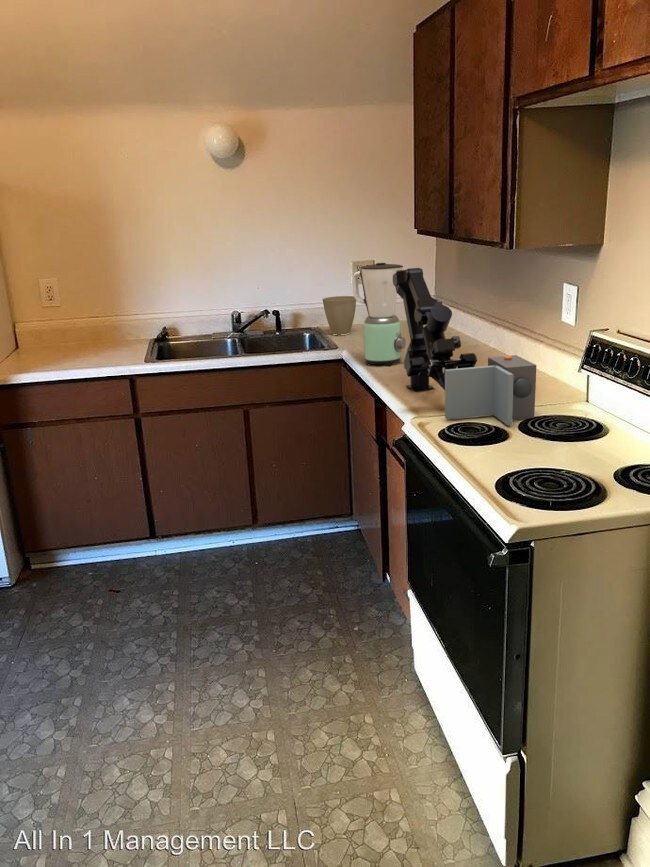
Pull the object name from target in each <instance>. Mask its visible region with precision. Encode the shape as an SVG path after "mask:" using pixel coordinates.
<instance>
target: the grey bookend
mask: <svg viewBox="0 0 650 867" xmlns="http://www.w3.org/2000/svg"><path fill="white" fill-rule="evenodd" d="M513 377H514V375H513V374H512V373H510V372H508V371H506V370H505V369H503V368H501V367H499V366H498V365H493V366H488V365H484V366H483V365H482V366H474V367H470V368H459V369H458V368H456V369H447V370H445V391H444V418H445V419H446V420H454V419H455V420H456V419H464V418H465V419H466V418H475V417H486V416H495V417H496V418H497V419H498V420H499V421H501V422H502V423H504V424H505V425H506V426H512V425H513V420H512V411H513Z"/></svg>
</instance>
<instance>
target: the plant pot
mask: <svg viewBox="0 0 650 867" xmlns="http://www.w3.org/2000/svg"><path fill="white" fill-rule="evenodd" d="M322 303H323V309H324V313H325V318H326V320H327V324H328V326H329V329H330V331H331V334H332V335H333V334H337V335H341V334H347V333H350V334H351V330H352V327H353V323H354V319H355V315H356V313H355V312H356V308H357V301H356V299H355V298H354V295H352V296H351V295H338V296H337V295H336V296H330V297H329V296H328V297H323V298H322Z"/></svg>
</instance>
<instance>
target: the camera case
mask: <svg viewBox="0 0 650 867" xmlns="http://www.w3.org/2000/svg"><path fill="white" fill-rule="evenodd" d="M493 365H498V366H499V367H501V368H503V369H505V370H506V371H508V372H510V373H512V374H513V375H514V377H513V411H512V421H515V420H525V419H534V418H535V415H536V414H535V412H536V411H535V410H536V408H535V407H536V388H537V387H536V384H537V364H535V363H533V362H531V361H529V360H527V359H525V358H522V357H520V356H519V355H517V354H514V355H501V356H491V357H489V356H488V358H487V366H493Z"/></svg>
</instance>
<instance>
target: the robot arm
mask: <svg viewBox="0 0 650 867" xmlns="http://www.w3.org/2000/svg"><path fill="white" fill-rule="evenodd" d="M393 285H394V286H395V288H396V292H397V296H399V297H400V298H401V299H402V301H403V306H404V311H405V317H406V323H407V324H406V325H407V329H408V333H409V340H410V342H409V345H408V347H407V348H406V354H405V357H404V360H403V365H404V366H403V367H404V369H405V371H406V376H407V377H408V378H409V379H410V384H407V385H406V388H407V389H409V390H411V391H413V392H421V391H426V390H429V391H430V390H434V387H433V386H432V385H430V378H431V379H433V380H434V381H435V383H436V384H438V385H439V386H440V387H441V389H442V390H443V391H444V392H445V370H447V369H459V368H470V367H476V364H477V362H478V356H477V355H476V354H475V353H474V352H468V353H460V355H459V357H458V358H454V359H451V358H452V357H453V356H454V352H455V351H456V349H460V348H461V347H462V341H461V338H460V336H459V335H455V336H452V337H451V338H446V334H445V331H447V330H448V326H449V324H450V321H451V319H452V317H453V312H452V309H451V308H450V307H449V306H446V305H445V304H443V302H442V301H439V300H438V299H436V298H434V297H432V295H431V293H430V291H429V288H428V285H427V282H426V280H425V278H424V271H423V269H422V268H421V267H410V268H406V269H402V270H397V271H396V273H395V274H393Z"/></svg>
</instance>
